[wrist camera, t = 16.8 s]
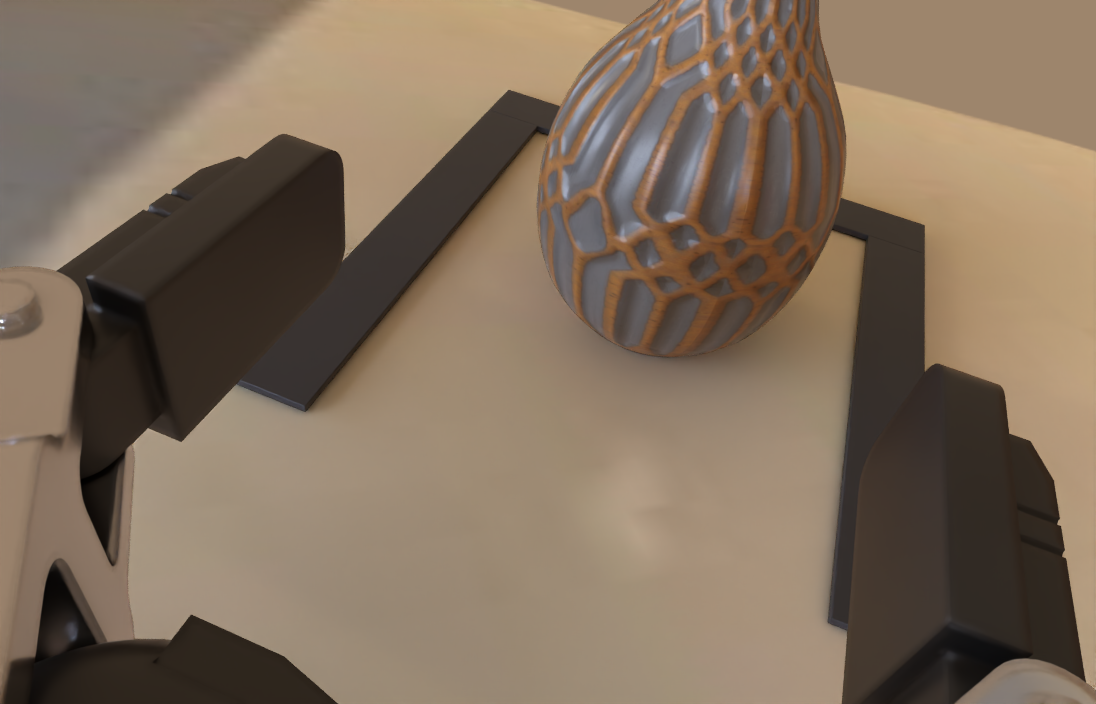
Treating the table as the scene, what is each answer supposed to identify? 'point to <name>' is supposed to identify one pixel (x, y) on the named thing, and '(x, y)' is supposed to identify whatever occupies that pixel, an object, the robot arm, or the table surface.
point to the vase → (693, 174)
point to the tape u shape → (457, 186)
